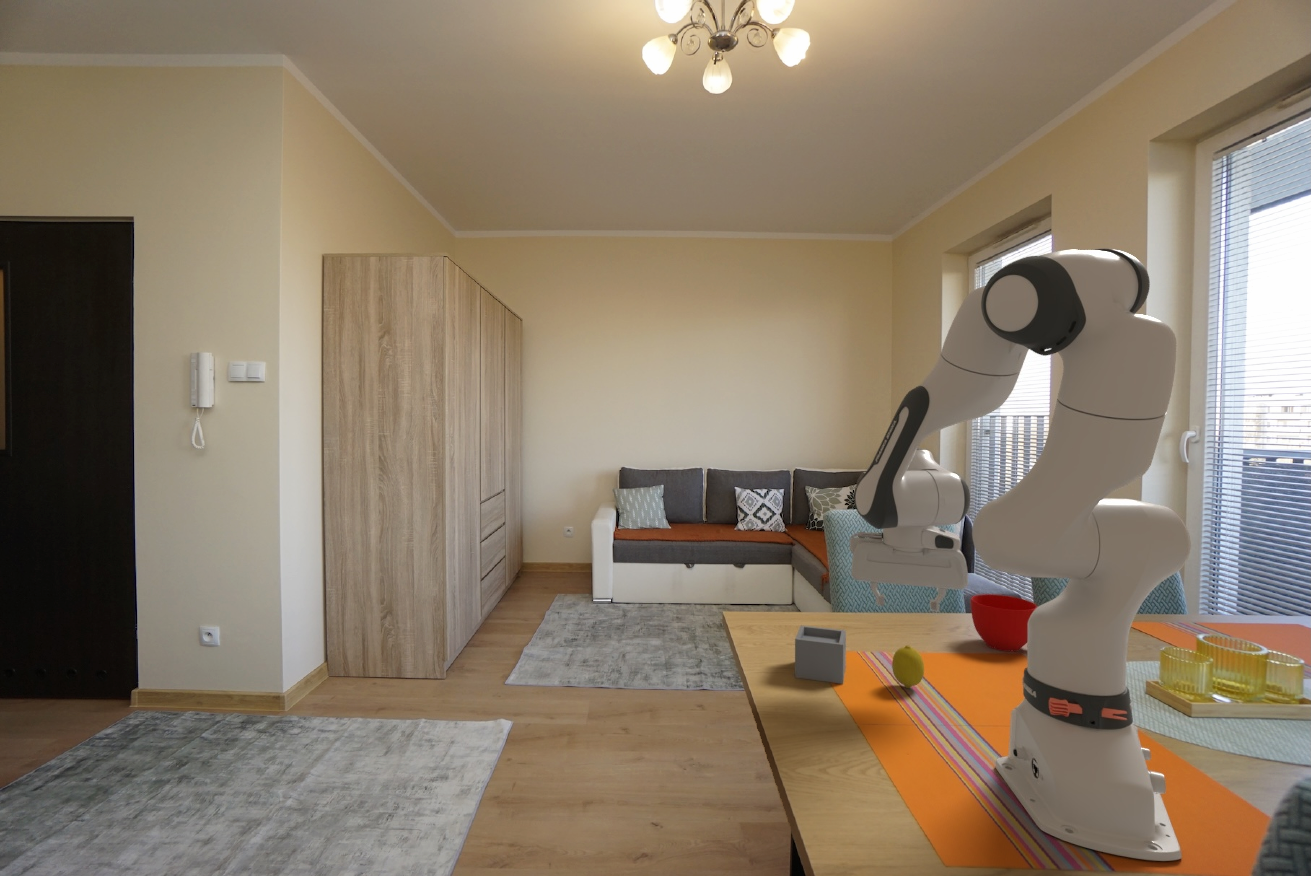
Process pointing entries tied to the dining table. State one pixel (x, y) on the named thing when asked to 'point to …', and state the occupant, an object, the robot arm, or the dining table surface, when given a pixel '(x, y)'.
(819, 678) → the grey open box
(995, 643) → the red bowl
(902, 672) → the lemon
